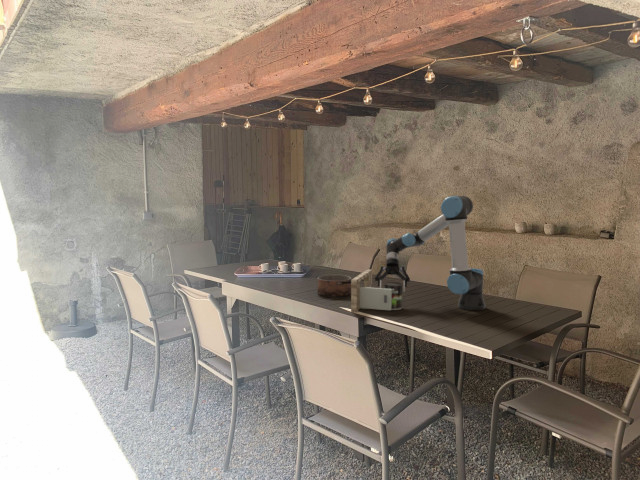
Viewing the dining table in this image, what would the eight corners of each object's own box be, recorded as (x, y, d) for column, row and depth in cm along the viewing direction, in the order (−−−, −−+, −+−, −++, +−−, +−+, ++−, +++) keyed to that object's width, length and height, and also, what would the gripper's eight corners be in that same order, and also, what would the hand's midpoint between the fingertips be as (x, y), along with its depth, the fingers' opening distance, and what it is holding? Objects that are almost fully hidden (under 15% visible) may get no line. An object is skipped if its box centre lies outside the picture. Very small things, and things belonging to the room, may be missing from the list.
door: (354, 308, 264) (355, 287, 263) (356, 306, 268) (356, 286, 266) (390, 311, 258) (390, 290, 256) (391, 309, 261) (391, 288, 260)
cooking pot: (362, 294, 302) (362, 278, 301) (337, 300, 288) (337, 283, 287) (331, 287, 325) (331, 272, 324) (307, 292, 310) (306, 276, 309)
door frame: (367, 297, 294) (367, 269, 293) (371, 297, 293) (372, 269, 292) (351, 311, 259) (351, 279, 257) (356, 312, 258) (356, 280, 256)
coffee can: (400, 310, 261) (401, 286, 259) (382, 309, 264) (383, 285, 262) (403, 306, 270) (403, 282, 269) (385, 305, 274) (385, 281, 272)
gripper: (413, 265, 281) (413, 294, 268) (372, 264, 285) (370, 293, 272) (413, 257, 275) (414, 287, 262) (371, 257, 279) (370, 286, 266)
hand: (392, 290), depth 267 cm, fingers open, 13 cm apart
